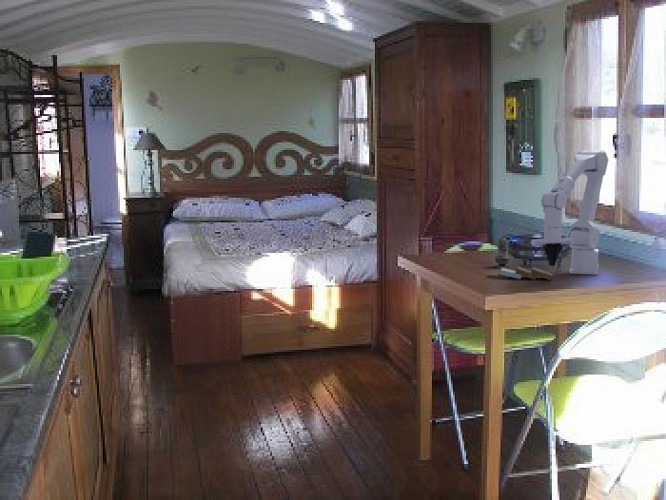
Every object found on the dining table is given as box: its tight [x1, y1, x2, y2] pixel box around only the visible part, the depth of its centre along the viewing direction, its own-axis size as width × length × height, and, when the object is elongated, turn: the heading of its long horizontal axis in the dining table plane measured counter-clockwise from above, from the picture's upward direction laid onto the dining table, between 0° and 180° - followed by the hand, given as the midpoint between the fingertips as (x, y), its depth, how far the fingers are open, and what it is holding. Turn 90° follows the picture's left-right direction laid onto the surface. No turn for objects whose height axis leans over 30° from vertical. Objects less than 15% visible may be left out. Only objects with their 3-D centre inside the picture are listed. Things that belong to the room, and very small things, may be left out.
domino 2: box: [499, 268, 522, 280], centre depth 272 cm, size 2×4×7 cm
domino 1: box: [487, 272, 510, 279], centre depth 274 cm, size 2×4×7 cm
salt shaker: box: [494, 235, 511, 269], centre depth 293 cm, size 6×6×12 cm
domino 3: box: [515, 266, 537, 280], centre depth 271 cm, size 2×4×7 cm
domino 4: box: [531, 266, 554, 281], centre depth 269 cm, size 2×4×7 cm
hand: (551, 265), depth 268 cm, fingers closed
